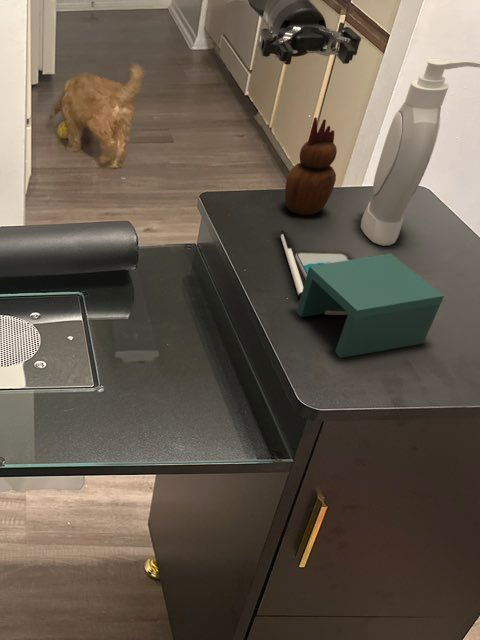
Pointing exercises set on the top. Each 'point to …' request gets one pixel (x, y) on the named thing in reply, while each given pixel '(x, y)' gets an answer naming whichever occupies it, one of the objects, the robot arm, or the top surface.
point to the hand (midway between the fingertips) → (318, 57)
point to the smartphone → (317, 259)
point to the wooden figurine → (312, 173)
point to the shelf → (372, 303)
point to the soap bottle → (407, 152)
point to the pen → (292, 263)
